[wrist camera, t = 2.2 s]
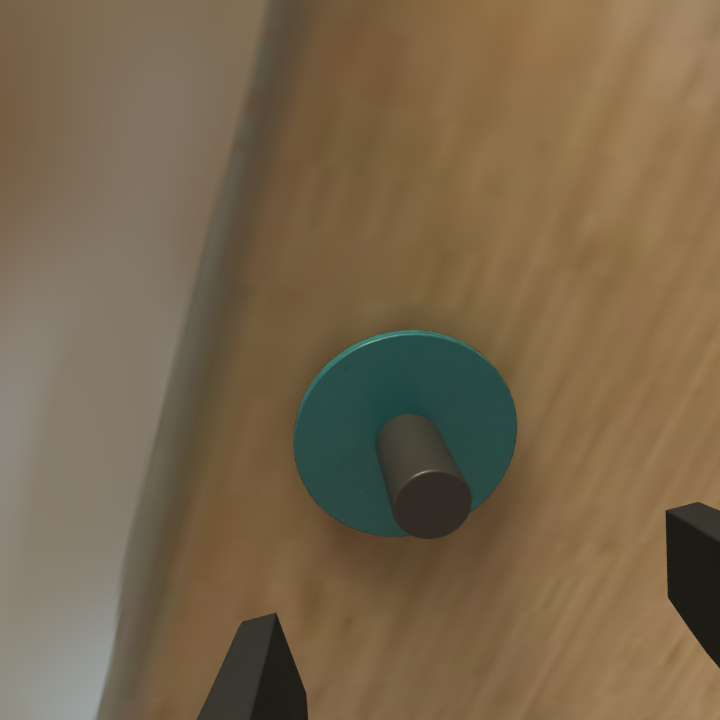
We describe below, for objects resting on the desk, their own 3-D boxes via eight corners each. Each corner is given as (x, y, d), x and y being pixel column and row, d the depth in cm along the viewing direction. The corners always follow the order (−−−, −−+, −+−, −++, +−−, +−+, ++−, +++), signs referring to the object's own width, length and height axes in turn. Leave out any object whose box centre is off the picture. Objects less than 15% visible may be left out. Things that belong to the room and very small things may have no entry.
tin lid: (490, 300, 17) (556, 341, 13) (517, 490, 20) (579, 579, 15) (267, 355, 17) (254, 416, 12) (324, 539, 19) (329, 644, 15)
